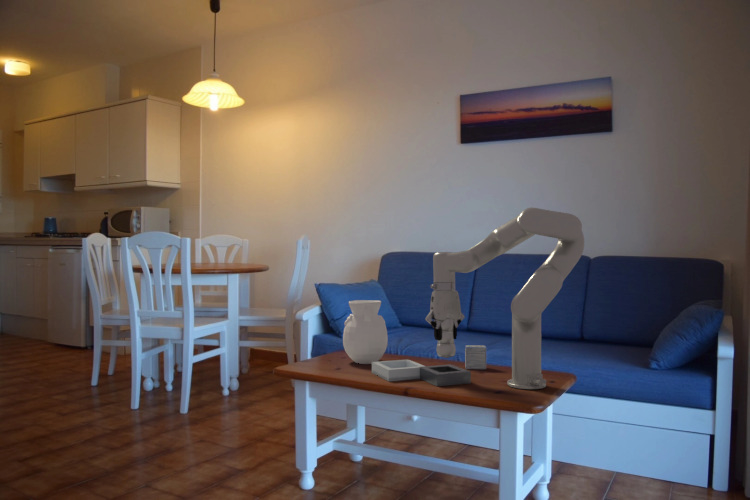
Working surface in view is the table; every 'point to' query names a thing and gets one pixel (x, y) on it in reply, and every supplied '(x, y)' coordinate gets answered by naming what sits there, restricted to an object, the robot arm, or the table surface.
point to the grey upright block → (475, 357)
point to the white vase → (365, 332)
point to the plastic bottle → (446, 338)
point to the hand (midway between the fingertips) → (445, 338)
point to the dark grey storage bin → (445, 375)
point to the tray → (397, 370)
